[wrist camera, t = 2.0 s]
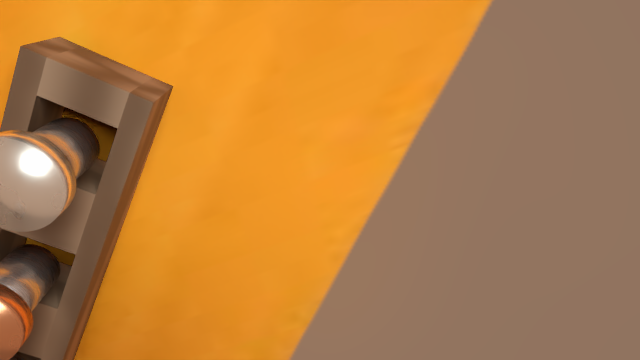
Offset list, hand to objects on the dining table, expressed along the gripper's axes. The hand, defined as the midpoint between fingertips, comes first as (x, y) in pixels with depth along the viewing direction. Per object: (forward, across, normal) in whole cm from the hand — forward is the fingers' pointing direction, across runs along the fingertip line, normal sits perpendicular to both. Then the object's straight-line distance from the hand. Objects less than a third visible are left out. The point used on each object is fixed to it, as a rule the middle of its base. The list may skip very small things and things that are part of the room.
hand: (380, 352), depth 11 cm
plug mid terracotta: (+22, -23, -6) cm, 32 cm away
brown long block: (+26, -23, -6) cm, 35 cm away
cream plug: (+22, -16, +2) cm, 27 cm away
